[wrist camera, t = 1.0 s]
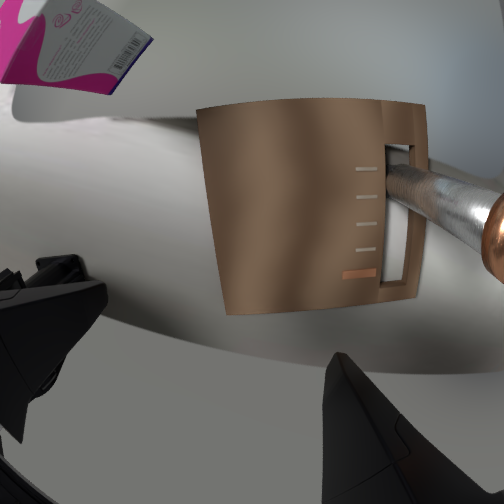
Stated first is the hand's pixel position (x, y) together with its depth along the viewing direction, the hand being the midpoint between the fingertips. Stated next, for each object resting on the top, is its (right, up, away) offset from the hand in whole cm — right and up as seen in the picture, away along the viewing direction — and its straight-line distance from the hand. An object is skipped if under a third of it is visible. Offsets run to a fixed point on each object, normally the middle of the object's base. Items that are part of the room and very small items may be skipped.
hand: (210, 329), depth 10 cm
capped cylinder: (+12, +8, +9) cm, 17 cm away
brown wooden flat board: (+7, +6, +10) cm, 14 cm away
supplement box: (-10, +19, +6) cm, 22 cm away
